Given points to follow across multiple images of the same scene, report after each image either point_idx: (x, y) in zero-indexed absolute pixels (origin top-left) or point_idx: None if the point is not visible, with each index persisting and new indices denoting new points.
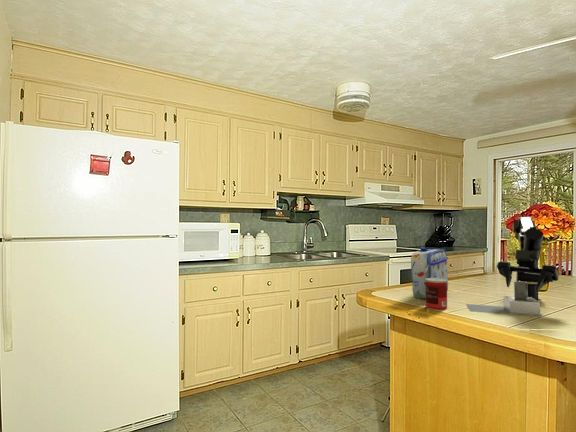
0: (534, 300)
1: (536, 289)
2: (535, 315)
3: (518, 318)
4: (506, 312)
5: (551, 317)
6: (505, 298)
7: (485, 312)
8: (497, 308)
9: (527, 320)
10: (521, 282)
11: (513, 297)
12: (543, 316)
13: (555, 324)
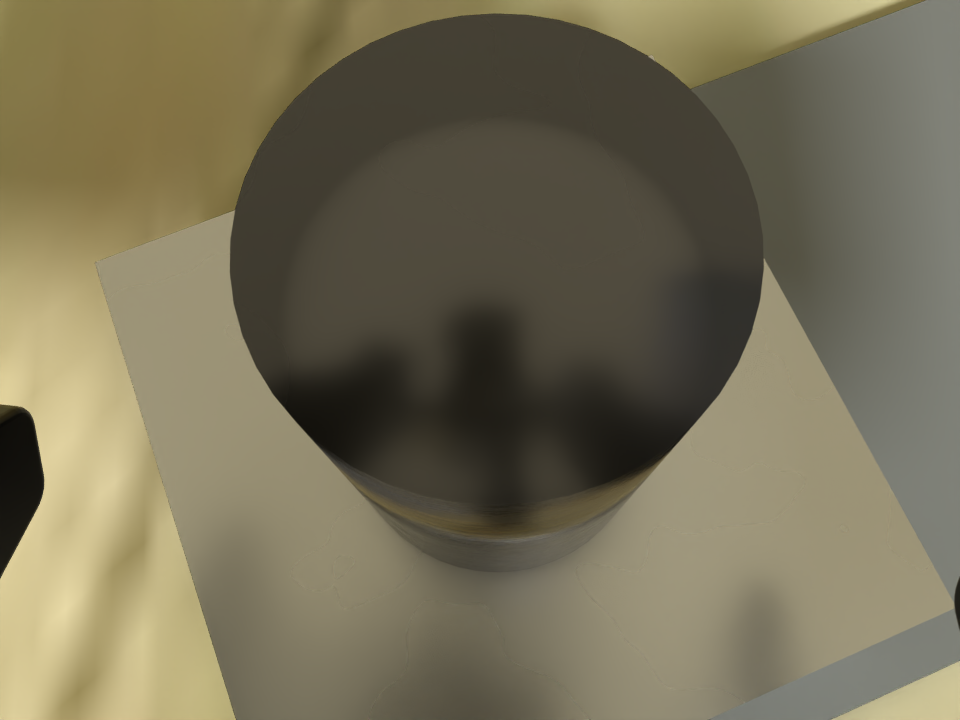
0: (206, 440)
1: (16, 409)
2: None
3: None
4: None
5: None
6: (839, 431)
7: (923, 2)
8: (891, 424)
9: (347, 8)
10: (466, 238)
11: (684, 501)
12: None
13: (17, 33)
